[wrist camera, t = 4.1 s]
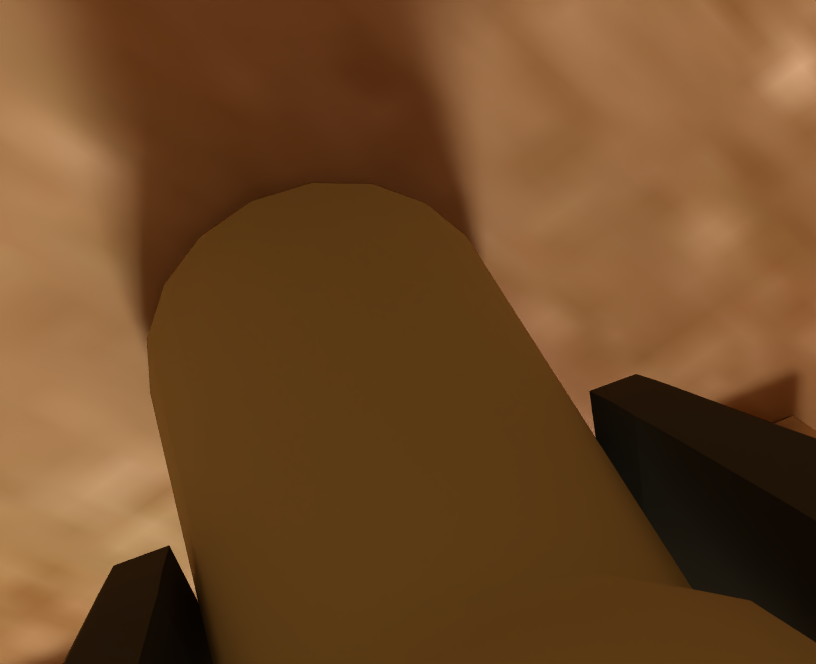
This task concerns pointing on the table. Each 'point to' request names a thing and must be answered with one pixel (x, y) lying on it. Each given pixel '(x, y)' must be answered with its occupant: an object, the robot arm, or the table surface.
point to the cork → (401, 460)
